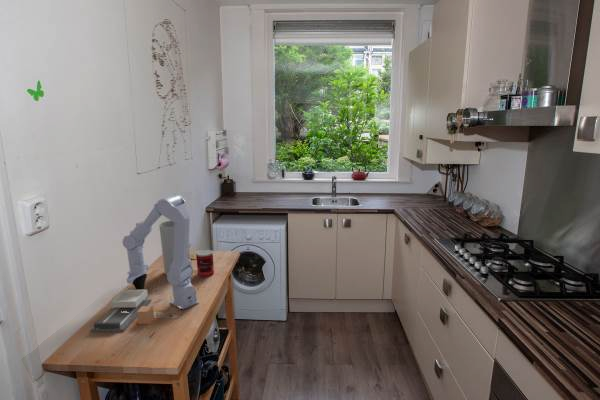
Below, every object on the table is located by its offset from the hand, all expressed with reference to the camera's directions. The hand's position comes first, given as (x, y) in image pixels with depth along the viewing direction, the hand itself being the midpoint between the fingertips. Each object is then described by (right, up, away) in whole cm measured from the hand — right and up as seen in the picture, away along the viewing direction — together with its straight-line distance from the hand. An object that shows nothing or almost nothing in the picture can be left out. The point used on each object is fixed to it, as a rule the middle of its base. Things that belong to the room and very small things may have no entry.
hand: (140, 292), depth 155 cm
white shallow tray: (0, -3, -8) cm, 9 cm away
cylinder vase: (+8, +3, +25) cm, 27 cm away
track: (-1, -6, -14) cm, 15 cm away
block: (+10, -6, -18) cm, 22 cm away
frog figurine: (+3, +7, +43) cm, 44 cm away
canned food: (+22, +3, +23) cm, 32 cm away
